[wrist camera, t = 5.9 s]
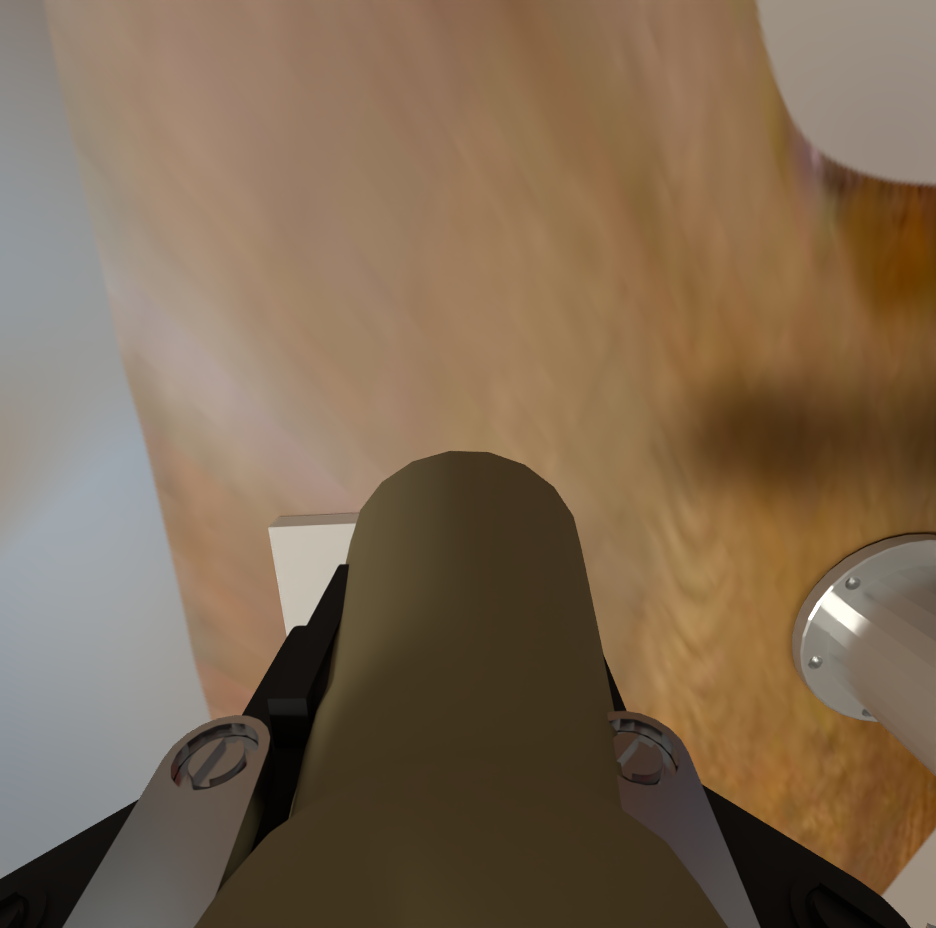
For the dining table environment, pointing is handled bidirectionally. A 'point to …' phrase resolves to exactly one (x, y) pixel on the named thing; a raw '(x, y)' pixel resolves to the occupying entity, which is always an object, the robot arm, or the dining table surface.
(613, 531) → the dining table surface
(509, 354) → the dining table surface
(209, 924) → the cork
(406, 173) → the dining table surface
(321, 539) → the board
